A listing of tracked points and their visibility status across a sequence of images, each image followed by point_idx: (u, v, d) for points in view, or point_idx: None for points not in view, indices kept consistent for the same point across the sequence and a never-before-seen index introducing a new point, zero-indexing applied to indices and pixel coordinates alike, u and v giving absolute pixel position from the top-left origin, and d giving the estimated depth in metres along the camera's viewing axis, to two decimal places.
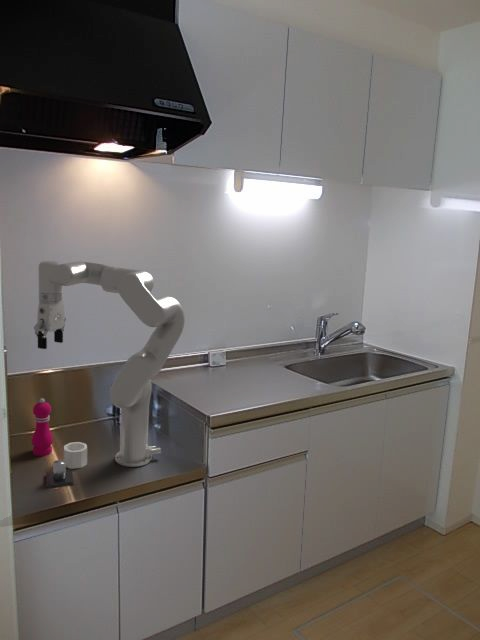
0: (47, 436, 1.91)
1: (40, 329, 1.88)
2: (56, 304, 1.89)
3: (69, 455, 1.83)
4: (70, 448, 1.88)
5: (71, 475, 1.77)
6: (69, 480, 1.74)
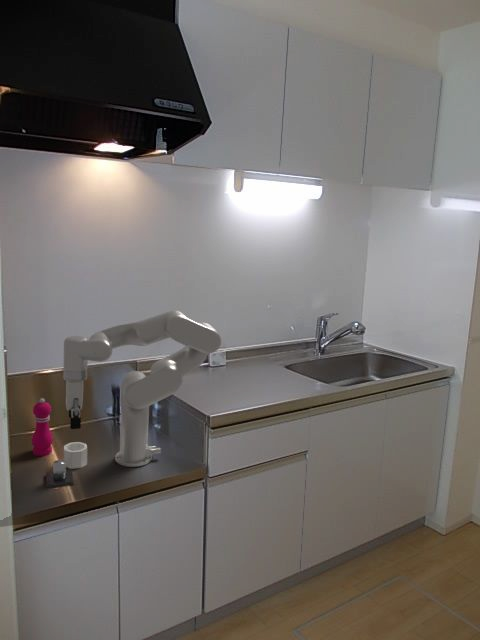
0: (47, 436, 1.91)
1: None
2: None
3: (69, 455, 1.83)
4: (70, 448, 1.88)
5: (71, 475, 1.77)
6: (69, 480, 1.74)
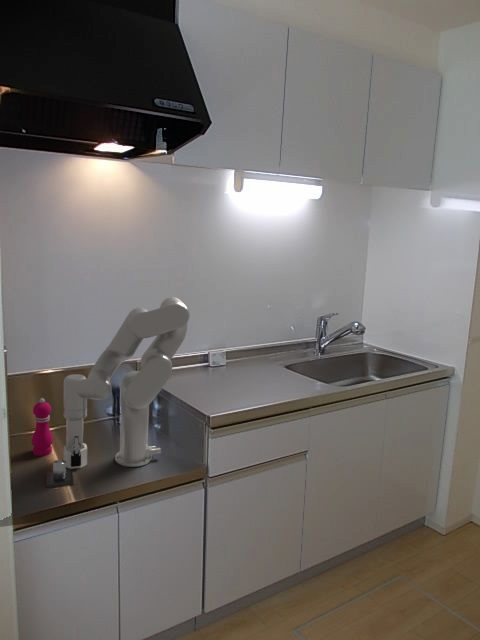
0: (47, 436, 1.91)
1: None
2: None
3: (69, 455, 1.83)
4: (70, 448, 1.88)
5: (71, 475, 1.77)
6: (69, 480, 1.74)
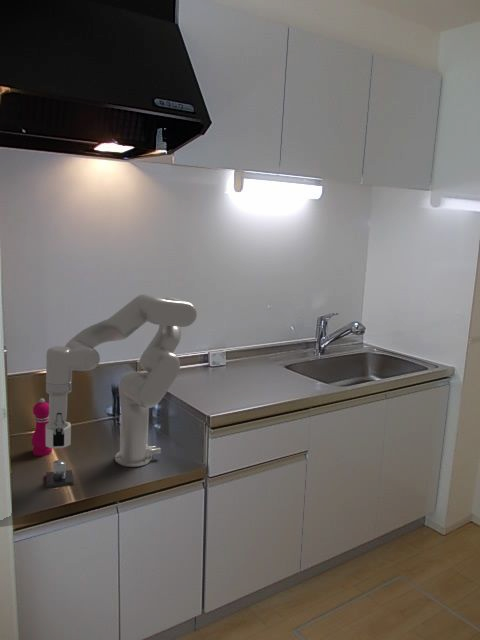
0: None
1: None
2: None
3: (51, 434, 1.68)
4: (53, 427, 1.74)
5: (71, 475, 1.77)
6: (69, 480, 1.74)
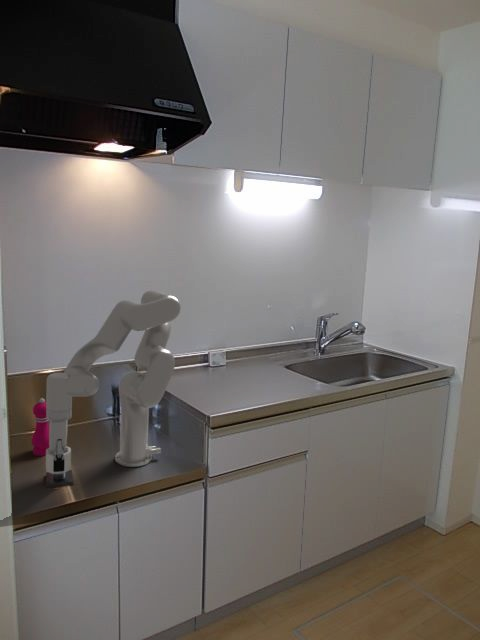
0: (47, 436, 1.91)
1: None
2: None
3: (52, 460, 1.70)
4: (53, 452, 1.76)
5: (71, 475, 1.77)
6: (69, 480, 1.74)
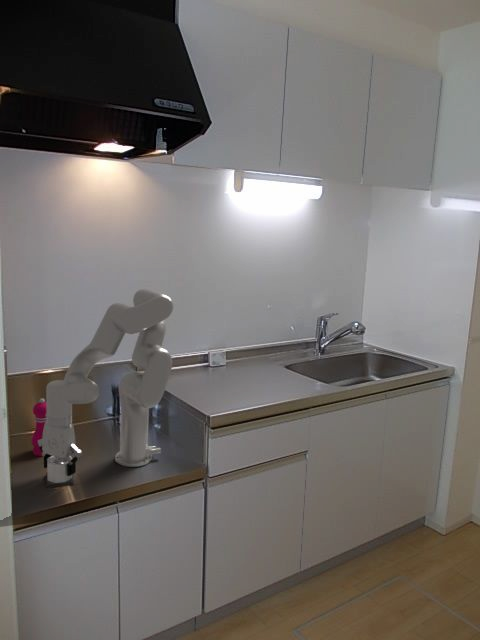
0: None
1: None
2: (51, 428, 1.70)
3: (63, 468, 1.72)
4: None
5: None
6: (69, 480, 1.74)
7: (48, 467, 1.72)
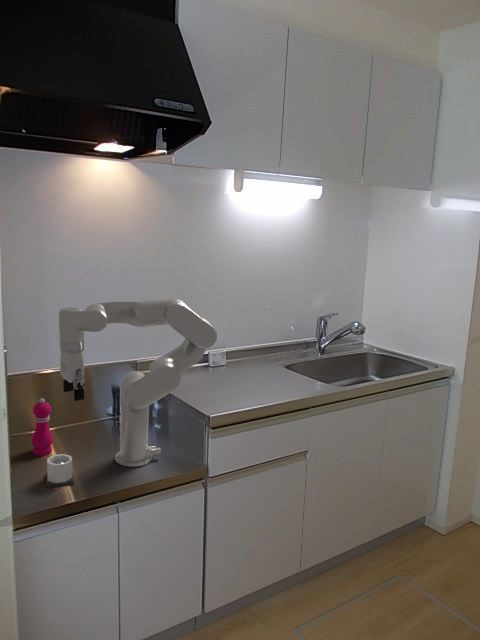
0: (47, 436, 1.91)
1: None
2: (63, 352, 1.78)
3: (63, 468, 1.72)
4: None
5: None
6: (69, 480, 1.74)
7: (48, 467, 1.72)
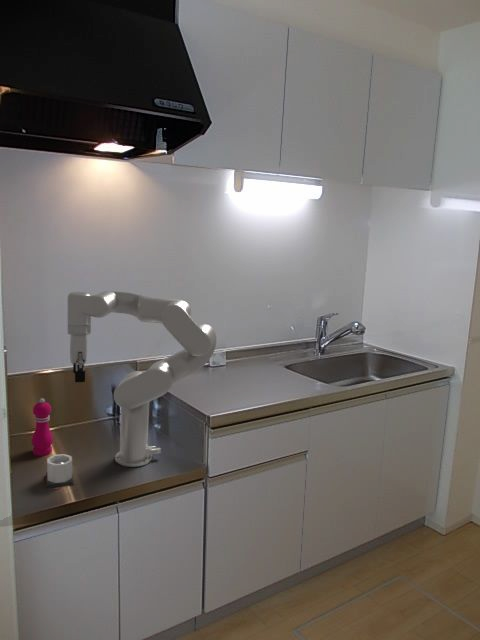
0: (47, 436, 1.91)
1: None
2: None
3: (63, 468, 1.72)
4: None
5: None
6: (69, 480, 1.74)
7: (48, 467, 1.72)
